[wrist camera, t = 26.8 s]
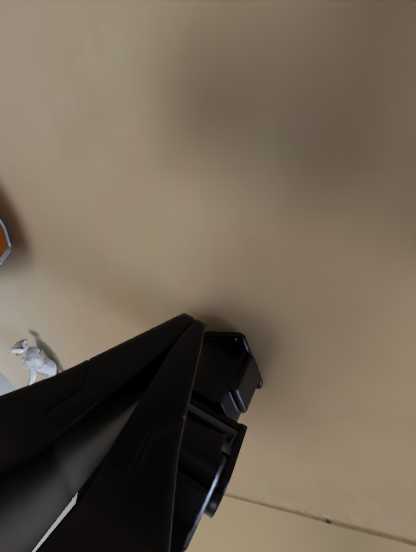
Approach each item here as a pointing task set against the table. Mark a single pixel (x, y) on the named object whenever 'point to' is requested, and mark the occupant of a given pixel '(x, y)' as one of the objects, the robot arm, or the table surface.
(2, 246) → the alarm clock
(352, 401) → the table surface
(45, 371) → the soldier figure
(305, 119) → the table surface
